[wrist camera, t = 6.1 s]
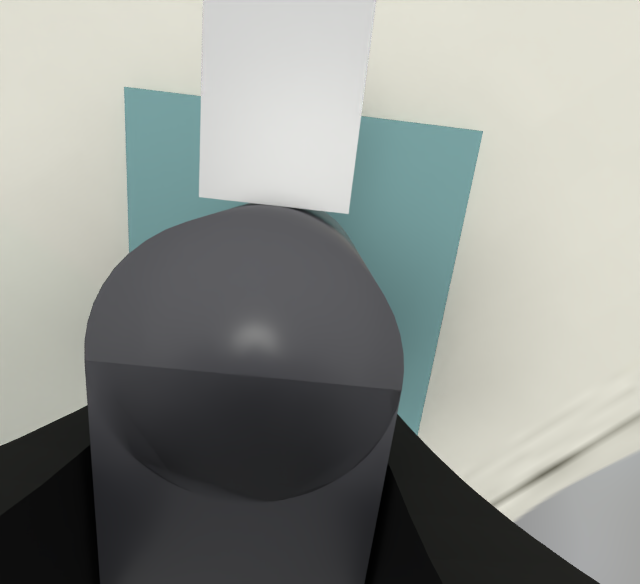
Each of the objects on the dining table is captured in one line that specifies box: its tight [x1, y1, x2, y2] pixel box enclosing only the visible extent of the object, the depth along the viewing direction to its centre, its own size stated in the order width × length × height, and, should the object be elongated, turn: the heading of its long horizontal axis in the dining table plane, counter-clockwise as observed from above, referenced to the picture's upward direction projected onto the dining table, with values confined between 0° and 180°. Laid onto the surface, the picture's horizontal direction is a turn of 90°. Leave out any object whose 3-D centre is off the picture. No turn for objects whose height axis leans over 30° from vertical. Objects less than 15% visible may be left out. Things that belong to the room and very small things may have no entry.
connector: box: [85, 0, 404, 584], centre depth 8 cm, size 13×4×5 cm, turn 174°
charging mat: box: [124, 87, 483, 435], centre depth 16 cm, size 16×13×1 cm
